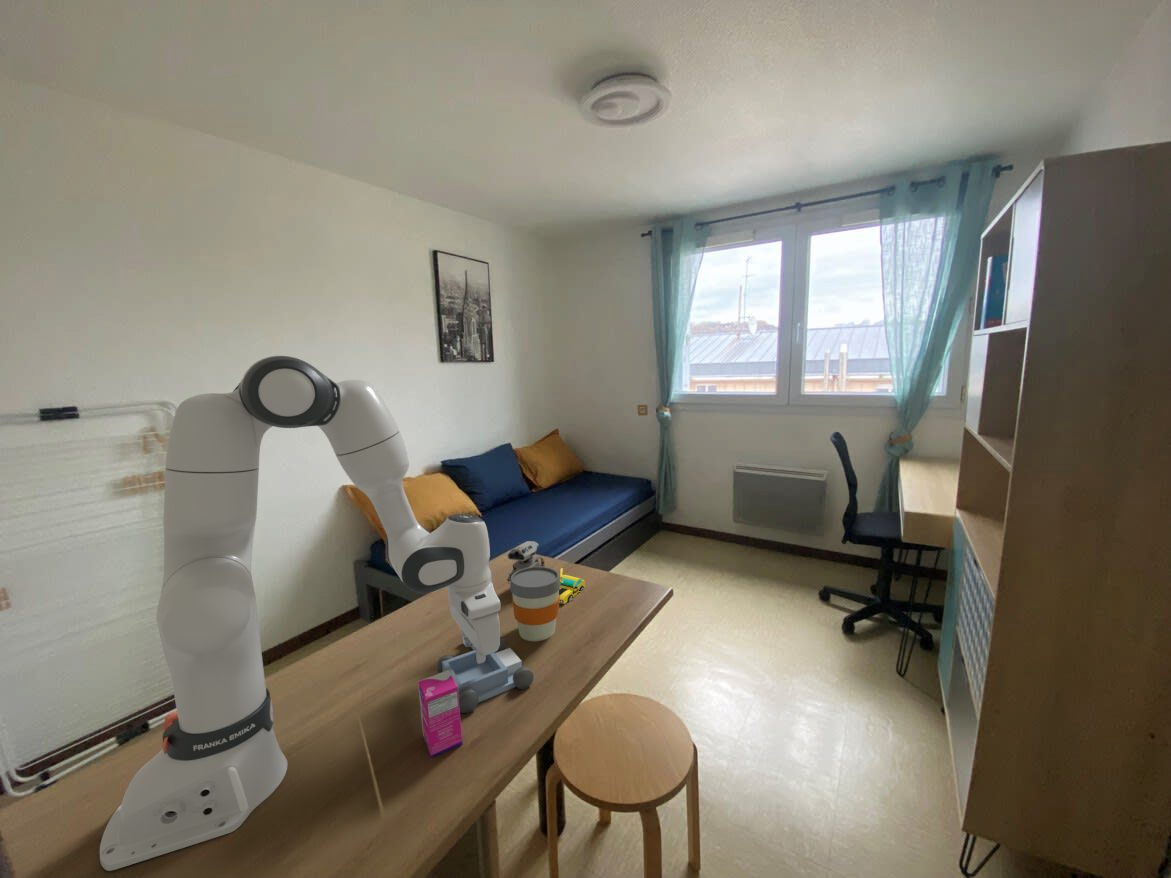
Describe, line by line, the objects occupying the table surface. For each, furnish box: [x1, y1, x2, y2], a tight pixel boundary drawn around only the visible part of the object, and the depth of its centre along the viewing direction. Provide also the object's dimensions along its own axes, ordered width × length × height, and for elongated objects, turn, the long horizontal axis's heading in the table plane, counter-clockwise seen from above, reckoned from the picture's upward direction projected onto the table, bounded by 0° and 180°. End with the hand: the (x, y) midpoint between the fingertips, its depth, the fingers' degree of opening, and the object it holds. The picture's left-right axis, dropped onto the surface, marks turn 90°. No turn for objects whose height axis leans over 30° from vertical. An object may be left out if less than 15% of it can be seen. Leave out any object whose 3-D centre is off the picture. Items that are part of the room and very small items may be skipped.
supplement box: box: [417, 670, 464, 758], centre depth 83 cm, size 6×6×12 cm
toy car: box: [559, 567, 586, 605], centre depth 136 cm, size 12×8×8 cm, turn 150°
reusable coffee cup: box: [509, 566, 561, 642], centre depth 117 cm, size 13×13×15 cm
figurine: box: [506, 540, 546, 583], centre depth 139 cm, size 9×12×15 cm
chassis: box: [435, 636, 534, 714], centre depth 100 cm, size 16×15×4 cm
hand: (474, 652), depth 98 cm, fingers open, 6 cm apart
